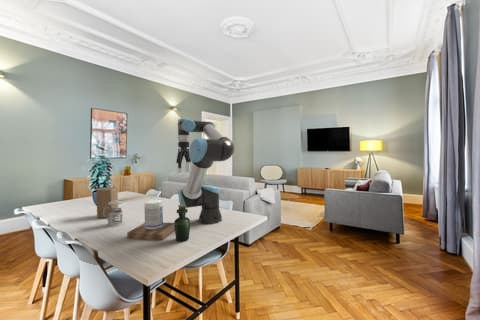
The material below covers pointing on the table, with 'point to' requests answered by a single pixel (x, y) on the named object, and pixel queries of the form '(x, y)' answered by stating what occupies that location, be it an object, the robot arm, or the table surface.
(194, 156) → the robot arm
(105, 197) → the block
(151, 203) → the supplement tub
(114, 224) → the french press
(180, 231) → the potion bottle
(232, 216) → the table surface
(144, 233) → the walnut base
